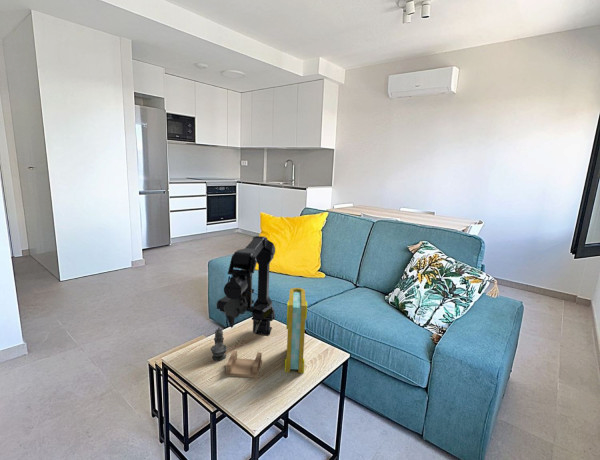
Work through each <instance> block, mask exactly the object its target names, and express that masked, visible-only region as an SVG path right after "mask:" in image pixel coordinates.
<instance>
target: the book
mask: <svg viewBox="0 0 600 460" xmlns="http://www.w3.org/2000/svg"><path fill="white" fill-rule="evenodd" d="M286 305H287V306H286V307H287V308H286V309H287V310H286V330H287V340H286V341H287V342H286V343H287V344H286V358H284V359H285V360H284V373H288V374H289V373H291V370H298V371H297V372H298V374H304V373H305V358H304V351H305V350H304V348H305V333H306V332H305V327H306V320H307V318H308V301H307V300H306V290H305V289H304V288H302V287H292V288H290V289H289V297H288V300H287V304H286Z"/></svg>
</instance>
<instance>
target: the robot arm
mask: <svg viewBox="0 0 600 460" xmlns="http://www.w3.org/2000/svg"><path fill="white" fill-rule="evenodd" d="M275 246H276V245H275V244H274V243H273V242H272V241H270V240H269V239H268V238H267V237H266V236H261V235H255V236H253V237H252V240H251V241H250V242H249V243H248V244H247V246H245V247H244V248H241V249H237V250H236V251H235V252H234V253H233V254H232V256H231V259H230V262H229V267H228V270H227V275H231V276H230V278H229V280H228V281H227V283H225V285H224V287H223V292H224V295H225V296H223V297H222V298H220V299H218V300H217V302H216V310H219V312H221V313H223V314H225V317H226V319H227V323H229V326H230V328H231V329H232V328H234V326H235V318H238V317H239V316H240V315H244V314H245V313H246V312H249V313H251V316H252V317H251V320H252V322H253V323H252V334H255V335H263V336H265V335H267V336H270V335H271V332H272V329H273V327H272V326H271V322H273V321H274V320H275V319H276V314H275V313H276V311H275V309H274V307H273V301H272V300H271V298H270V293H269V292H270V291H269V290H270V289H269V288H270V264H271V262H272V261H273V259H274V257H275V254H276V247H275ZM257 265H258V266H257ZM256 266H257V267H258V268H257V269H258V271H257V274H258V275H257V276H258V277H257V298H256V299H255V300H254V299H253V293H254V292H255V289H254V288H253V275H254V273H255V271H256Z"/></svg>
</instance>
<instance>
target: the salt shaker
mask: <svg viewBox="0 0 600 460" xmlns="http://www.w3.org/2000/svg"><path fill="white" fill-rule="evenodd" d="M223 335H224V332H223V329H222V328H220V327H218V328H217V329H216V330H215V331H214V338H213V341H214V345H212V346H211V347H210V351H211V354H212V356H211V360H212V361H215V362H221V361H224V360H226V358H227V354H226V352H227V350H228V347H227V346H226V344H224V339H225V338H224V336H223Z"/></svg>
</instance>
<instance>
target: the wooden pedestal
mask: <svg viewBox="0 0 600 460" xmlns="http://www.w3.org/2000/svg"><path fill="white" fill-rule="evenodd" d="M262 356H263V355H262V352H259V351H257V353H256V355H255V359H249V358H238V350H232V352H231V355H230V356H229V358H228V360H227V362H226V365H225V367H226V368H225V369H226V370H225V372H224V373H225V376H227V377H228V376H229V377H239V378H240V377H241V378H252V379H253V378H254V379H258V378H259V374H260V372H261V371H260V370H261V367H262V364H263V360H262Z"/></svg>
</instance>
